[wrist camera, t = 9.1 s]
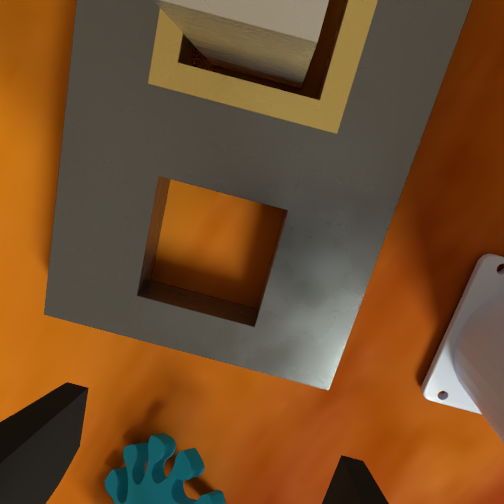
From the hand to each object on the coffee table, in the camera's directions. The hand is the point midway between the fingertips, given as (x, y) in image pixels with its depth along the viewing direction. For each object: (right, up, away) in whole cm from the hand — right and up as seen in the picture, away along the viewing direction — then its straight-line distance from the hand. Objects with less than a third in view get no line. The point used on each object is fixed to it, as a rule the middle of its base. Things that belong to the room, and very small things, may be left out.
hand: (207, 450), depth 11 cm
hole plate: (+1, +10, +7) cm, 13 cm away
